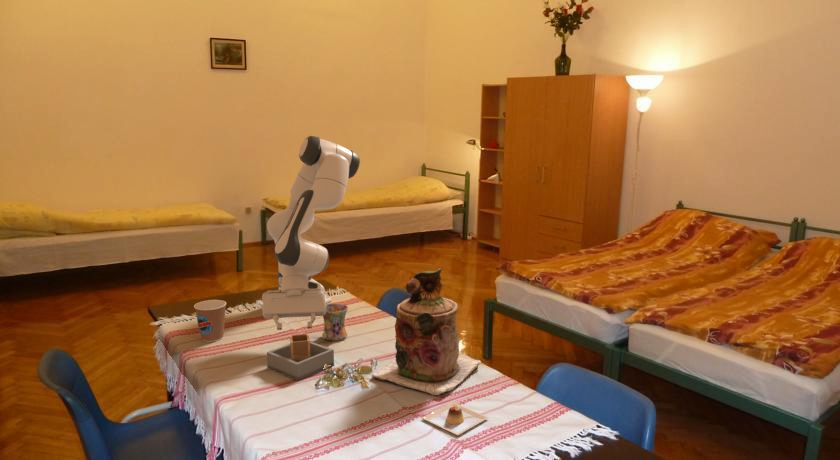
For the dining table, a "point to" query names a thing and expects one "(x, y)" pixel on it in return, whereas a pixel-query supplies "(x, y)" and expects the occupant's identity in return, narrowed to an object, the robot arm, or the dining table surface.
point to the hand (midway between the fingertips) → (294, 328)
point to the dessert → (455, 416)
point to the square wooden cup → (300, 347)
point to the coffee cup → (211, 319)
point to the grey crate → (300, 370)
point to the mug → (334, 322)
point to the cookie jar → (427, 340)
